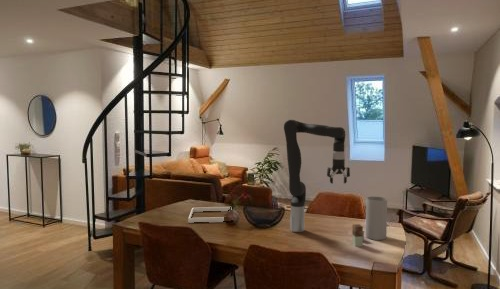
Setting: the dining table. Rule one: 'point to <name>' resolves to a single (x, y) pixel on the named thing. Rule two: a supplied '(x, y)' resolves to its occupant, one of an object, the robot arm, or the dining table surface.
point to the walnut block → (357, 230)
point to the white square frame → (208, 219)
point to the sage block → (357, 241)
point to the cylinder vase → (376, 218)
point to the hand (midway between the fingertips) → (338, 183)
